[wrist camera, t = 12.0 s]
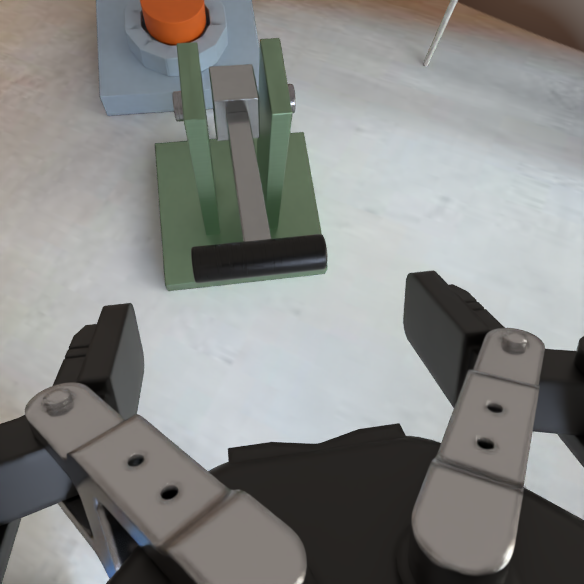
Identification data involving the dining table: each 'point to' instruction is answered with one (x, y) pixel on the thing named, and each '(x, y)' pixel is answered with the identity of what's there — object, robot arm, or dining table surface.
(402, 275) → the dining table surface
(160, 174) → the switch bracket
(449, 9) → the lollipop
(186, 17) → the button
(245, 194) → the lever
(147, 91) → the grey piece
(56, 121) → the dining table surface
